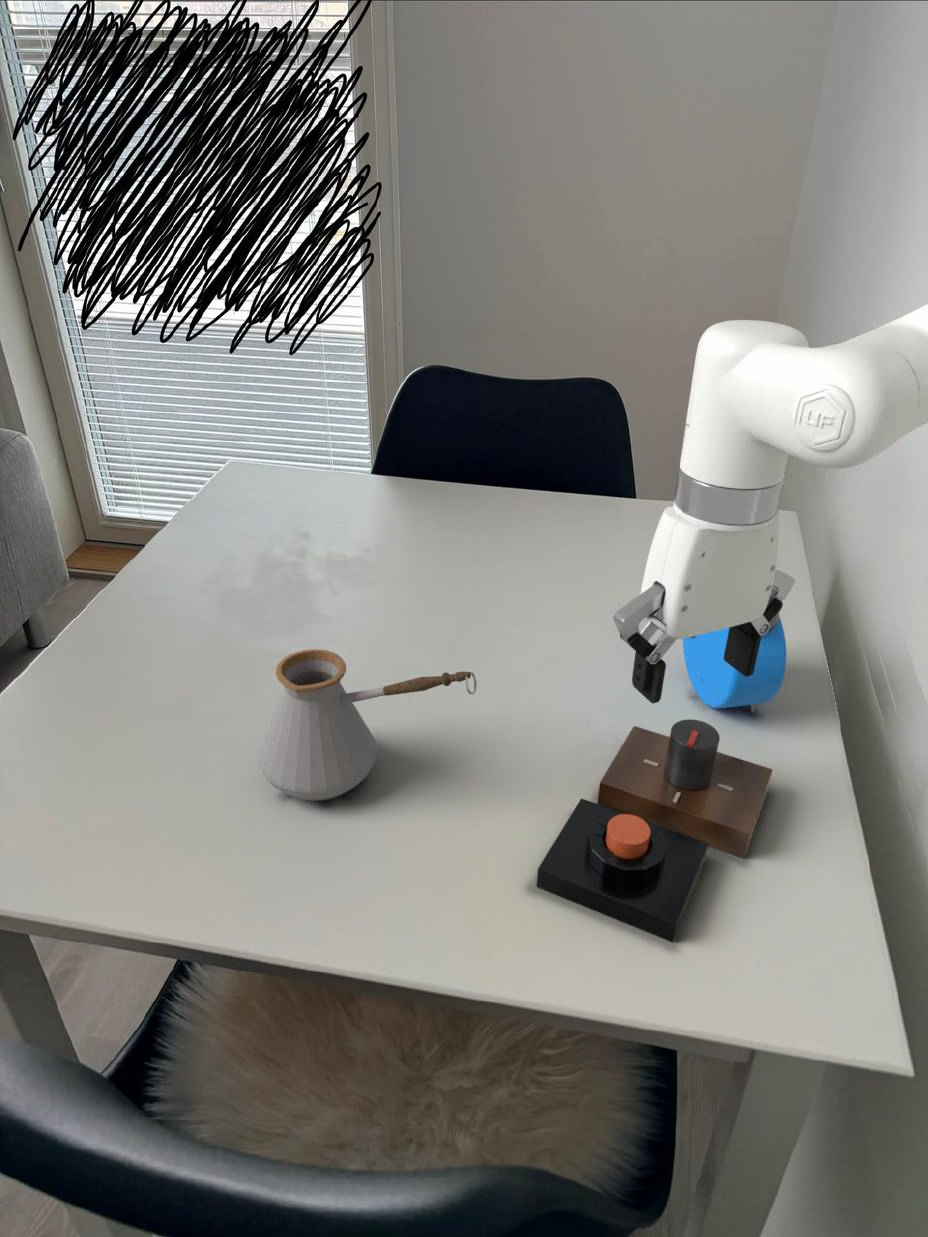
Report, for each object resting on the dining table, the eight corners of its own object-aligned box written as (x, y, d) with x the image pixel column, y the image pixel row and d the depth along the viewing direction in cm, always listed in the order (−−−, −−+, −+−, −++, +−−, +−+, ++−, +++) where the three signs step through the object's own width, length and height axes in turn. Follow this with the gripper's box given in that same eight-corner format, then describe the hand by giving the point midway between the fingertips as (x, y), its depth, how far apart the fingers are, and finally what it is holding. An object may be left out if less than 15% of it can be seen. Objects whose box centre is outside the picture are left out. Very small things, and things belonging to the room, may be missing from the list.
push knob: (653, 838, 75) (656, 822, 75) (640, 865, 73) (642, 850, 72) (613, 823, 77) (615, 808, 76) (599, 850, 74) (601, 834, 73)
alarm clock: (773, 728, 95) (803, 608, 87) (720, 734, 94) (745, 613, 86) (721, 662, 106) (742, 551, 98) (672, 667, 105) (691, 555, 97)
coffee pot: (240, 802, 84) (221, 672, 76) (290, 730, 93) (277, 608, 85) (457, 845, 79) (459, 711, 72) (485, 765, 89) (490, 640, 81)
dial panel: (767, 792, 86) (773, 767, 84) (743, 859, 78) (750, 833, 77) (630, 748, 92) (634, 724, 90) (596, 806, 84) (599, 781, 82)
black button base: (704, 861, 78) (712, 828, 76) (672, 942, 70) (679, 908, 68) (579, 815, 83) (582, 783, 81) (536, 887, 75) (538, 853, 73)
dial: (670, 755, 86) (678, 711, 83) (715, 768, 84) (724, 724, 82) (658, 781, 83) (666, 737, 80) (705, 796, 81) (714, 751, 78)
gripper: (780, 462, 72) (743, 638, 81) (602, 493, 66) (582, 681, 75) (849, 494, 66) (801, 680, 75) (661, 532, 60) (633, 731, 69)
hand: (692, 680), depth 75 cm, fingers open, 9 cm apart
